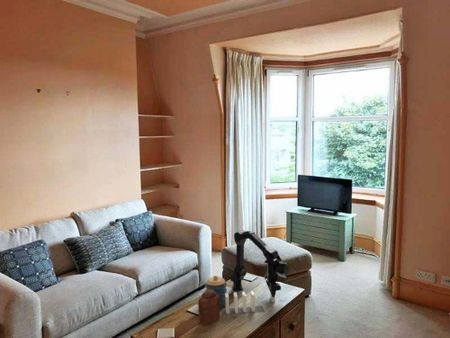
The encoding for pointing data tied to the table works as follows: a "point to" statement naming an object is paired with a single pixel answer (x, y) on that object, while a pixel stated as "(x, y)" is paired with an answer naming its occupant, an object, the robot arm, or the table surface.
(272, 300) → the domino
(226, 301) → the domino
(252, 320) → the table surface
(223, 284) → the canister
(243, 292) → the domino
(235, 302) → the domino
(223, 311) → the mat
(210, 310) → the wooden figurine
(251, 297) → the domino
